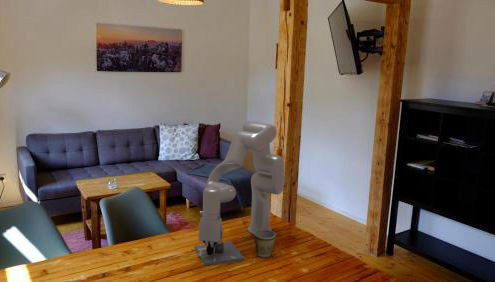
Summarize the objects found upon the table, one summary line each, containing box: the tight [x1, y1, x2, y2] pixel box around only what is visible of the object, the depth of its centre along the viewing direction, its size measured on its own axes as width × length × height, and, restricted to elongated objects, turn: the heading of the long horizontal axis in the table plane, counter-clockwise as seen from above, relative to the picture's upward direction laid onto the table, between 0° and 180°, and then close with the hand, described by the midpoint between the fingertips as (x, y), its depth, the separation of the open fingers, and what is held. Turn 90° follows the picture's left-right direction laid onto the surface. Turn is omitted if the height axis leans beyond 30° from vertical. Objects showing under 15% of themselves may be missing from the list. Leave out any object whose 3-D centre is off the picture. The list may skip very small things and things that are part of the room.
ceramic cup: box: [253, 229, 277, 258], centre depth 190 cm, size 13×10×10 cm
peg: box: [200, 241, 224, 255], centre depth 185 cm, size 11×4×4 cm, turn 120°
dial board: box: [194, 240, 245, 267], centre depth 187 cm, size 18×19×1 cm
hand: (210, 253), depth 182 cm, fingers closed
